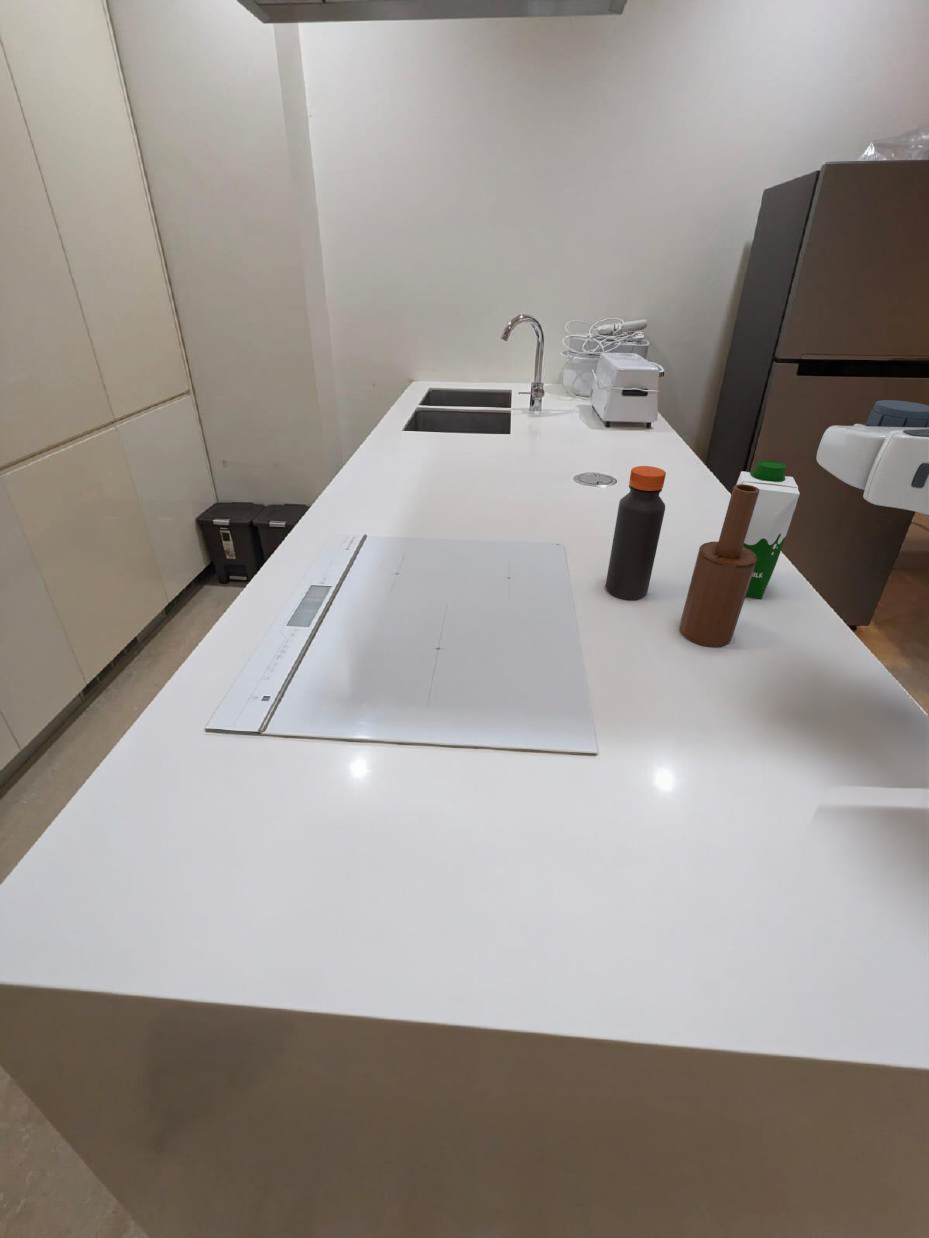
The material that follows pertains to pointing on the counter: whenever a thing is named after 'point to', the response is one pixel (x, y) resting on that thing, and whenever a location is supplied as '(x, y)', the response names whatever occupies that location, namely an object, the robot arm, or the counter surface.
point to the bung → (899, 414)
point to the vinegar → (636, 534)
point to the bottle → (721, 576)
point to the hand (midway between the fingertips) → (888, 432)
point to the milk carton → (768, 519)
